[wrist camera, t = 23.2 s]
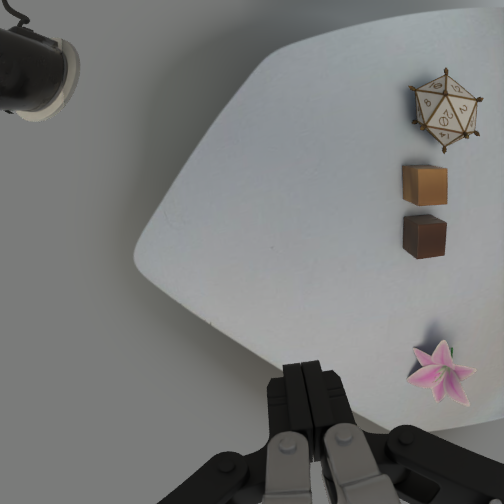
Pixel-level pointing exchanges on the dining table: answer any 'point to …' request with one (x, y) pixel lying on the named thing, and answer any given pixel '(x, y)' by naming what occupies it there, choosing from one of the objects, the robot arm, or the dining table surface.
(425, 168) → the oak block
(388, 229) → the dining table surface
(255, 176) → the dining table surface
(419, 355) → the lily
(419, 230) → the walnut block
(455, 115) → the game die
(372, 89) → the dining table surface
